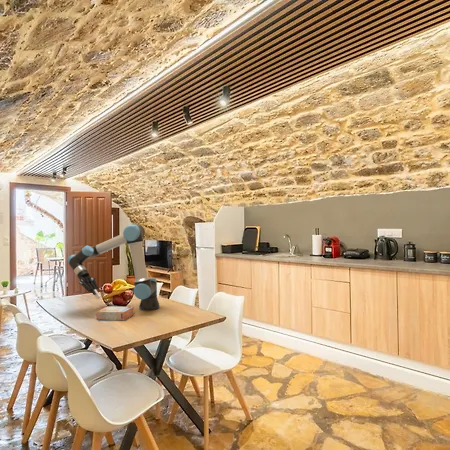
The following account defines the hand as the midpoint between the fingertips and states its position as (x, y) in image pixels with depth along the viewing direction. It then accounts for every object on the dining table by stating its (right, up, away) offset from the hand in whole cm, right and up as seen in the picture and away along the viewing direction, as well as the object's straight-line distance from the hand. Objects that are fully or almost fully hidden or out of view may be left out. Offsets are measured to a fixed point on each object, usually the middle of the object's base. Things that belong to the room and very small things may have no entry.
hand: (98, 297), depth 237 cm
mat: (+13, -13, -1) cm, 19 cm away
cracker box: (+2, -11, 0) cm, 11 cm away
